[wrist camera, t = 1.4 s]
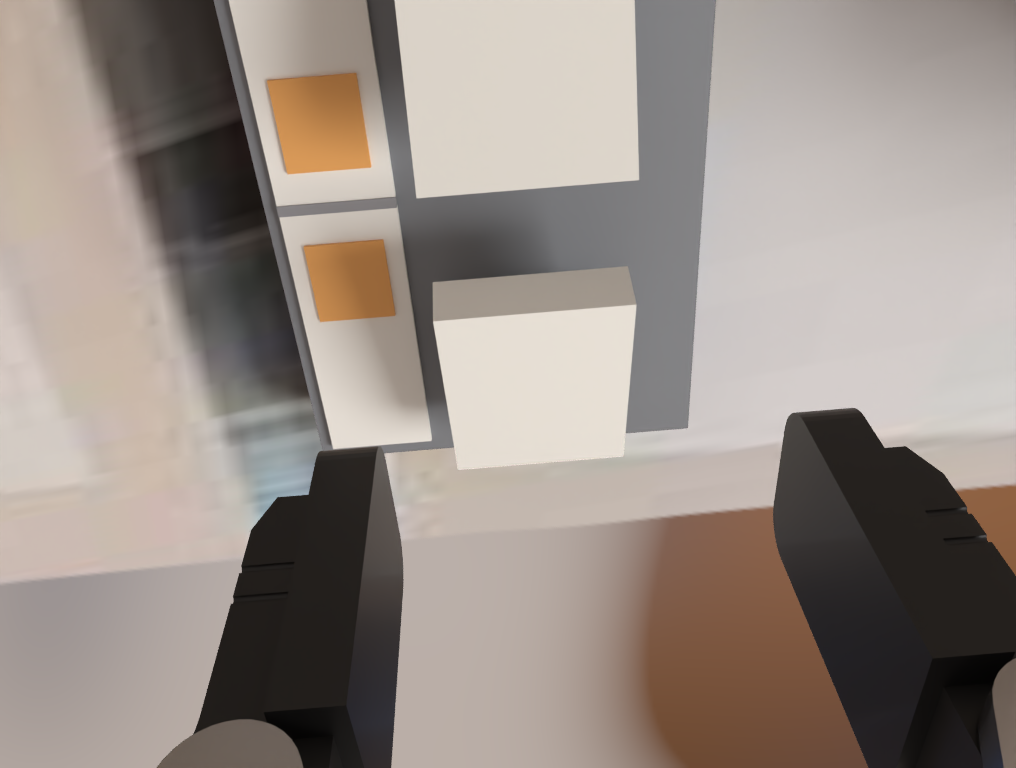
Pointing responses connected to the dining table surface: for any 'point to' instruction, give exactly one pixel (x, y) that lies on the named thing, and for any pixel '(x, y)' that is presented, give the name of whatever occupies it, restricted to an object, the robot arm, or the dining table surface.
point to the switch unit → (452, 213)
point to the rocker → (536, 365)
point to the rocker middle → (519, 93)
